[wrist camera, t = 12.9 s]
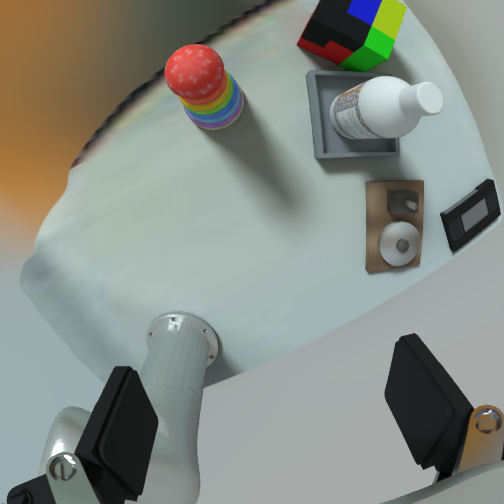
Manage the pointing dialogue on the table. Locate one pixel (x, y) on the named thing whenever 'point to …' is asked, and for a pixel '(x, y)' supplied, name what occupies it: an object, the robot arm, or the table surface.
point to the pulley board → (387, 216)
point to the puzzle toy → (353, 31)
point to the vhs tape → (471, 215)
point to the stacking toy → (204, 87)
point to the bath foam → (383, 108)
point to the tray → (324, 134)
